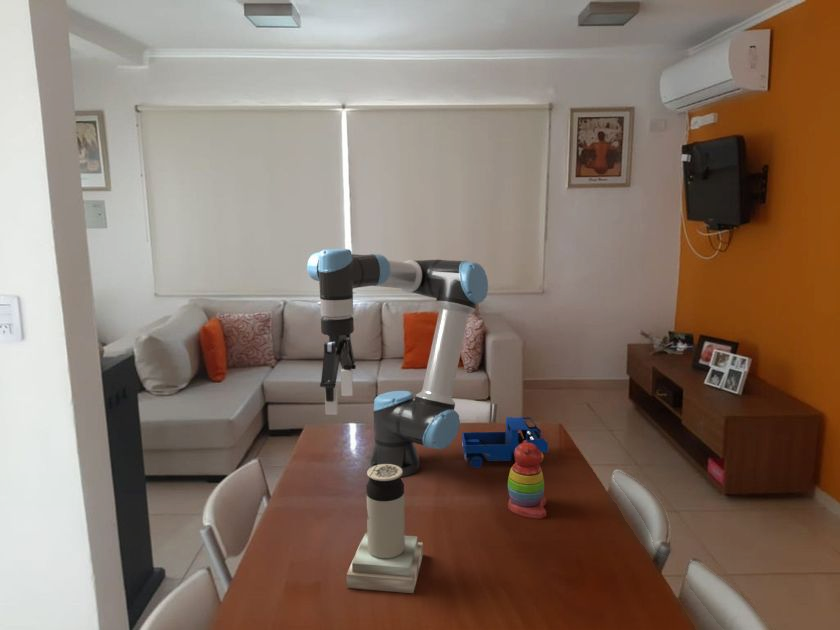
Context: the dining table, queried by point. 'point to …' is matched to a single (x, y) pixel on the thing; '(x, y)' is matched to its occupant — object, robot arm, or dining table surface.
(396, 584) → the plinth
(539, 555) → the dining table surface
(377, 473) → the travel mug
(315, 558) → the dining table surface
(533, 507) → the stacking bear
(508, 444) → the toy vehicle
